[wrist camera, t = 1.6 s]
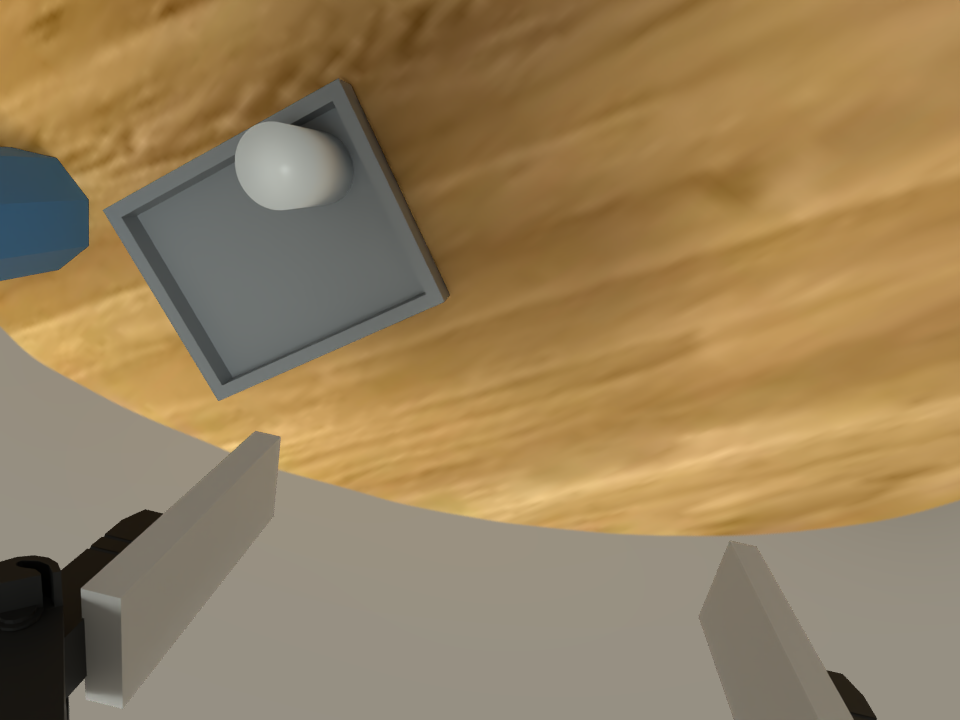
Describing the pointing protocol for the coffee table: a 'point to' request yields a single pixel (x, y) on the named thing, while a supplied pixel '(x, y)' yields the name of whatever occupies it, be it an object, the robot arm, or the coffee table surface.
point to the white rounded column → (292, 166)
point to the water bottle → (38, 214)
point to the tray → (279, 255)
